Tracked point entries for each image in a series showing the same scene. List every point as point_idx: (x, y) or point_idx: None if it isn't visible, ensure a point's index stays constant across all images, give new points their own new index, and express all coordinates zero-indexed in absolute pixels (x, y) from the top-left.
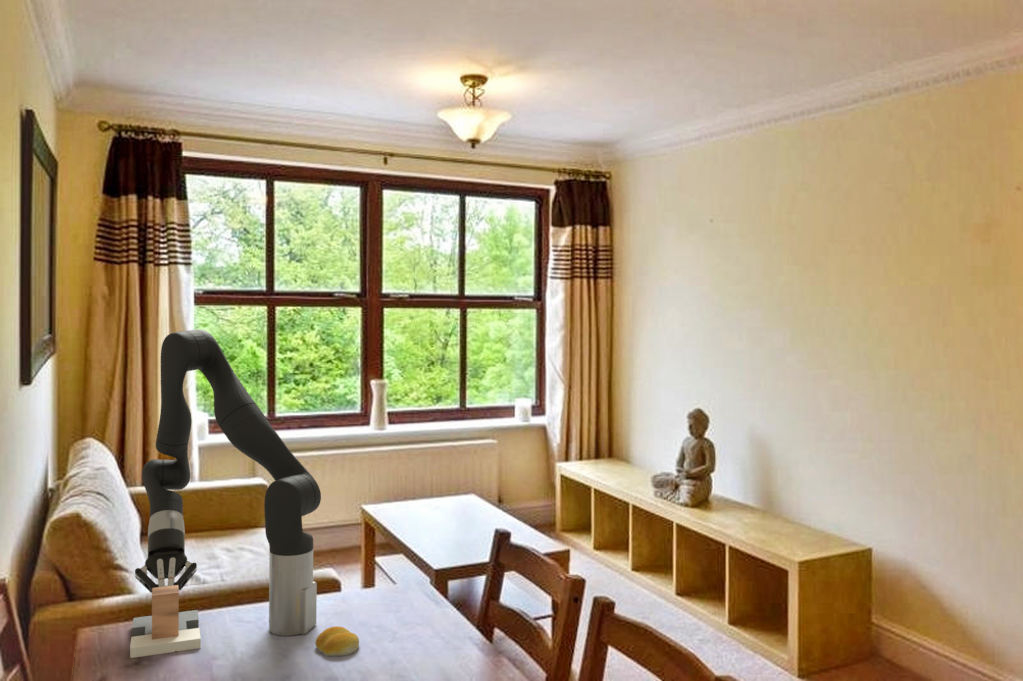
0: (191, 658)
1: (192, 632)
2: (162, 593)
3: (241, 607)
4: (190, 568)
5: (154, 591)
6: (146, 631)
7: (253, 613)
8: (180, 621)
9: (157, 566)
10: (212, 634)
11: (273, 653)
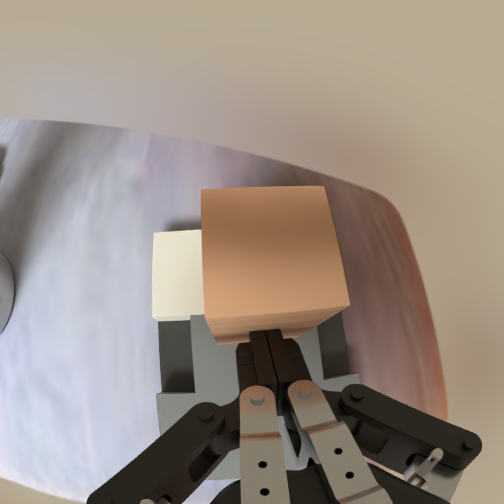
0: (183, 194)
1: (172, 284)
2: (280, 198)
3: (65, 494)
4: (129, 488)
5: (326, 239)
6: (313, 334)
7: (34, 437)
8: (214, 394)
9: (379, 486)
10: (125, 331)
11: (43, 182)
